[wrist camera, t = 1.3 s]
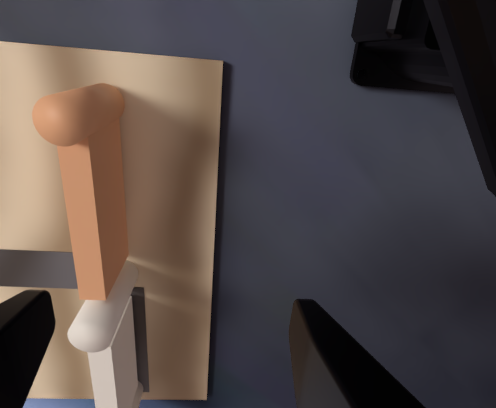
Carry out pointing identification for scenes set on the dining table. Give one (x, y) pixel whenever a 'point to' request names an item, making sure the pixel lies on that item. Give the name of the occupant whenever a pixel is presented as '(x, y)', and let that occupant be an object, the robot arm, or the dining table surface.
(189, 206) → the card
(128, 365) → the fence fixed
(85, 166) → the gate panel
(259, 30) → the dining table surface
